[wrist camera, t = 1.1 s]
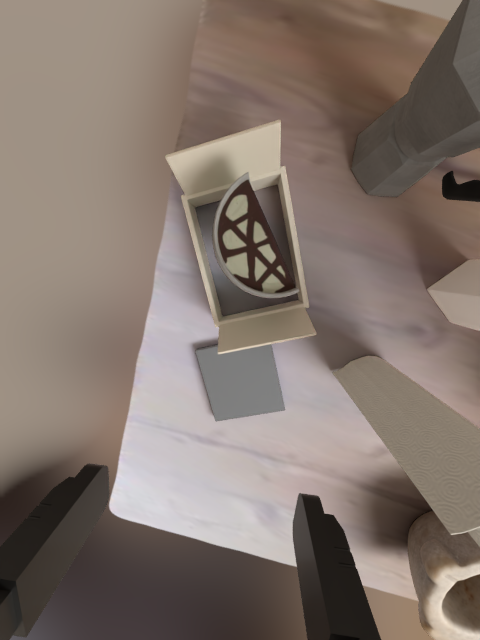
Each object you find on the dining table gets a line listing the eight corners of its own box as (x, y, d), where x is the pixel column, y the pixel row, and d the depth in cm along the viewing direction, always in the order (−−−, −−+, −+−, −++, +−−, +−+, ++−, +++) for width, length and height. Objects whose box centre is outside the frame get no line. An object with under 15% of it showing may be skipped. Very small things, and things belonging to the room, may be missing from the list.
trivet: (268, 334, 33) (269, 336, 32) (284, 406, 35) (285, 410, 35) (197, 348, 34) (195, 351, 33) (216, 417, 37) (215, 421, 36)
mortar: (485, 566, 40) (551, 652, 31) (385, 566, 41) (421, 648, 32) (499, 489, 36) (579, 561, 27) (388, 492, 38) (430, 561, 29)
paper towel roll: (398, 371, 33) (640, 548, 12) (367, 399, 34) (539, 603, 14) (361, 341, 32) (550, 473, 12) (331, 371, 34) (453, 539, 13)
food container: (207, 222, 30) (184, 201, 20) (249, 199, 29) (245, 165, 20) (247, 305, 32) (243, 321, 23) (287, 286, 31) (301, 294, 22)
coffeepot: (339, 109, 26) (501, -199, 9) (425, 78, 25) (806, -350, 8) (362, 243, 29) (516, 207, 12) (439, 220, 28) (737, 144, 11)
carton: (278, 159, 28) (287, 116, 20) (306, 318, 32) (322, 334, 24) (184, 186, 29) (158, 156, 22) (223, 335, 34) (213, 355, 26)
